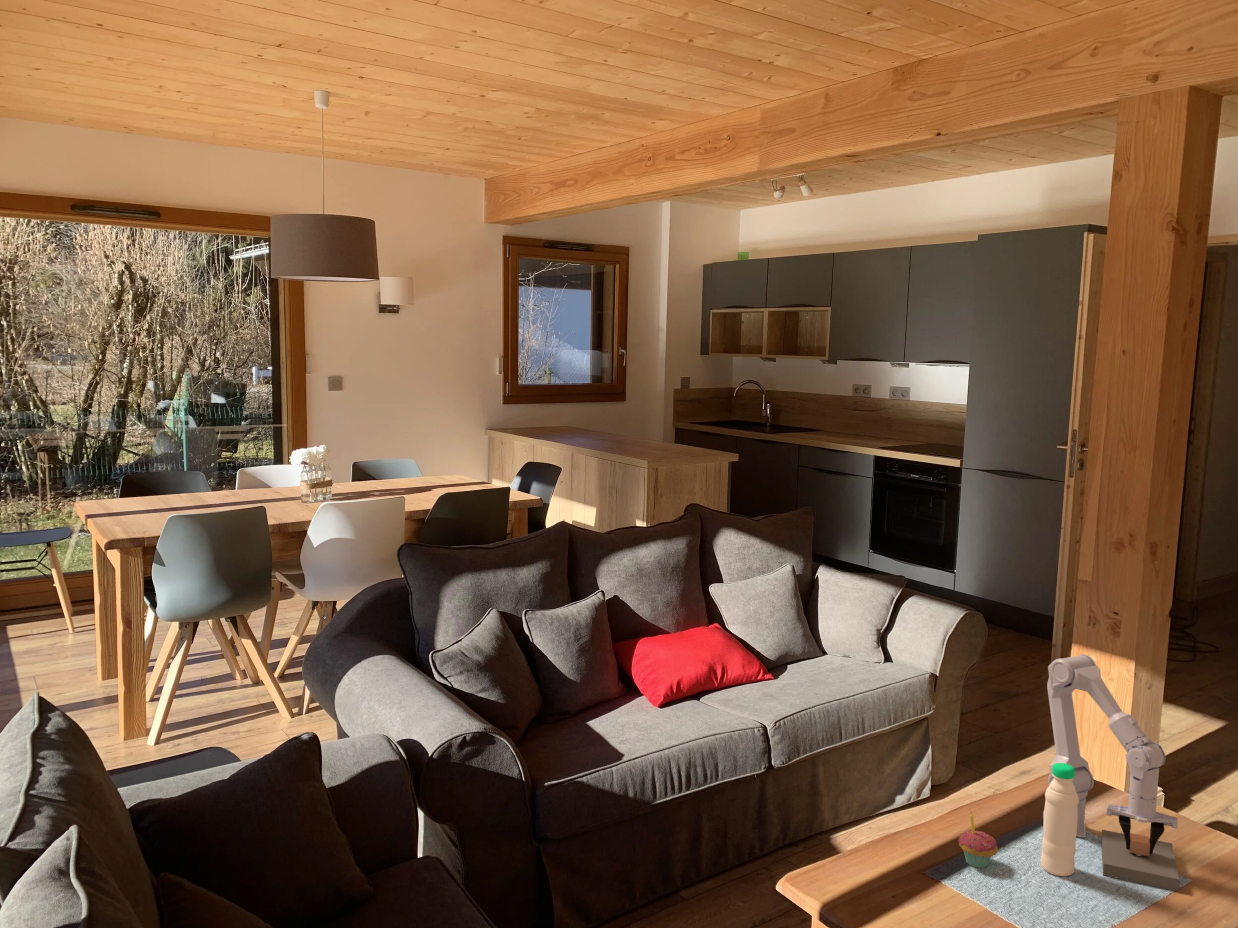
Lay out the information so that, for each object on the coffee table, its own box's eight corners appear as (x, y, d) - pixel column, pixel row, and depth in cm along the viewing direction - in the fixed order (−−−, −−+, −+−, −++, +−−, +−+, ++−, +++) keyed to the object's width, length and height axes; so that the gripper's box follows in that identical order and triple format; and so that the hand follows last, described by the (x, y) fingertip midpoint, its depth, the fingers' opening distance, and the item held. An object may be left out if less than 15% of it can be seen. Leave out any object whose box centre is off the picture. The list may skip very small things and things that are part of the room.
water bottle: (1077, 879, 217) (1084, 773, 215) (1044, 875, 219) (1051, 770, 216) (1069, 863, 224) (1076, 760, 222) (1037, 859, 226) (1043, 758, 223)
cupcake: (955, 865, 222) (957, 816, 221) (960, 849, 230) (963, 801, 229) (994, 875, 218) (997, 825, 217) (998, 858, 226) (1001, 810, 225)
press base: (1102, 874, 219) (1103, 863, 219) (1101, 840, 235) (1102, 829, 235) (1178, 891, 213) (1179, 879, 212) (1171, 854, 229) (1172, 843, 229)
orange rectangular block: (1128, 865, 223) (1130, 840, 222) (1127, 857, 227) (1129, 832, 226) (1148, 869, 221) (1150, 843, 221) (1147, 861, 225) (1148, 836, 224)
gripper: (1108, 794, 222) (1104, 850, 223) (1180, 807, 215) (1176, 864, 217) (1107, 782, 228) (1103, 836, 229) (1177, 795, 222) (1173, 850, 223)
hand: (1138, 849), depth 224 cm, fingers closed on orange rectangular block, 4 cm apart
